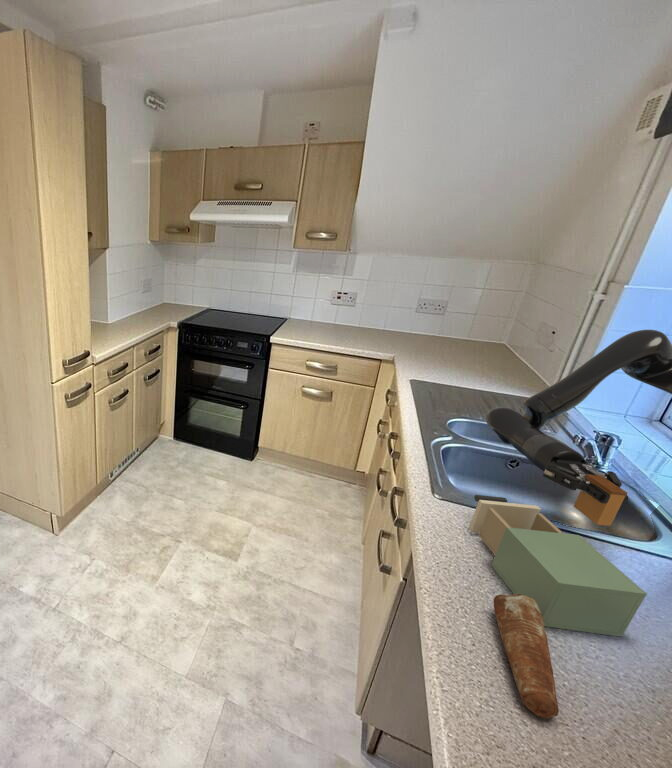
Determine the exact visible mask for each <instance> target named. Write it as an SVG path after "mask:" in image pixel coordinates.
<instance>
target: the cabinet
mask: <svg viewBox="0 0 672 768" xmlns="http://www.w3.org/2000/svg"><path fill="white" fill-rule="evenodd" d="M491 568H492V569H493V570H494V571H495V572H496V574H497V575H498V576H499V577H500V579H501V580H502V581H503V582H504V584H505V585H506V586H507V587H508V589H509V591H511V592H512V594H515V595H517V594H522V595H524V596H527V597H530V598H532V599H534V600H535V601H536V602H537V604H538V607H539V609H540V611H541V615H542V618H543V622H544V627H545V628H546V627H547V628H554V629H562V630H569V631H575V632H584V633H591V634H598V635H605V636H606V635H607V636H611V637H612V636H613V637H620V638H621V637H623V635H624V634H625V632H626V630H627V629H628V627H629V626H630V624H631V622H632V620H633V618H634V617H635V615H636V614H637V612H638V610H639V608H640V607H641V605H642V603H643V602H644V600H645V598H646V597H647V595H648V593H647V592H646V591H645V590H644V589H643V588H641V587H640V586H639V585H638V584H637V583H635V582H634V581H633V580H632V579H631V578H629V576H627V575H626V574H625V573H624V572H623V571H622V570H621V569H619V568H618V567H617V566H616V565H614V563H612V562H611V561H610V560H609V559H608V558H607V557H606V556H604V555H603V554H602V553H601V552H599V551H598V550H597V549H596V548H595V547H594V546H593V545H592V544H590V543H589V542H588V541H587V540H586V539H584V537H582V536H581V535H580V534H572V533H571V534H570V533H564V532H562V533H555V532H546V531H537V530H528V529H519V528H510V527H506V530H505V533H504V535H503V538H502V540H501V543H500V545H499V548H498V550H497V553H496V555H494V558H493V561H492V562H491Z"/></svg>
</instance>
